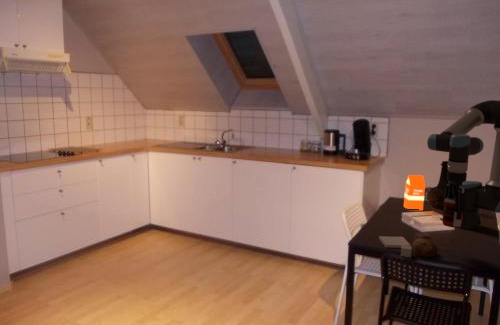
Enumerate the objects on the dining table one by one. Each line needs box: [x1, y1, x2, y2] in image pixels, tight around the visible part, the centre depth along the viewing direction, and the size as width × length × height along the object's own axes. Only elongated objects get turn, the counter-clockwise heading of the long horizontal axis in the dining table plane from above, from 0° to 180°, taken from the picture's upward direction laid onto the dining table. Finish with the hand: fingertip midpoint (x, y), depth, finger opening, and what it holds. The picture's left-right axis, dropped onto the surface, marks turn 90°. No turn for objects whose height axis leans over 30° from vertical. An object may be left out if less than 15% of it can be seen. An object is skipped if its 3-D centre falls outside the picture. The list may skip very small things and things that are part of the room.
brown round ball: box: [413, 231, 432, 242], centre depth 193 cm, size 5×5×5 cm
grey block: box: [400, 245, 412, 259], centre depth 180 cm, size 4×4×4 cm
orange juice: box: [403, 174, 426, 211], centre depth 252 cm, size 8×9×20 cm
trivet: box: [378, 235, 412, 249], centre depth 195 cm, size 11×11×1 cm
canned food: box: [442, 198, 463, 229], centre depth 184 cm, size 8×8×11 cm
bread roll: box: [411, 238, 437, 258], centre depth 184 cm, size 10×10×8 cm
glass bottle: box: [426, 160, 455, 210], centre depth 255 cm, size 18×18×28 cm
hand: (452, 223), depth 185 cm, fingers closed on canned food, 8 cm apart
